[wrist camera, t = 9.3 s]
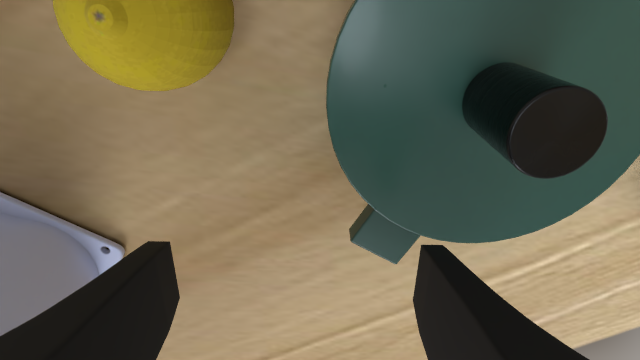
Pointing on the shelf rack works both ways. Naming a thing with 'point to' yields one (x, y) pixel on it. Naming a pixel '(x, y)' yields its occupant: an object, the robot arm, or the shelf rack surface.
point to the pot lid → (484, 110)
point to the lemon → (148, 38)
